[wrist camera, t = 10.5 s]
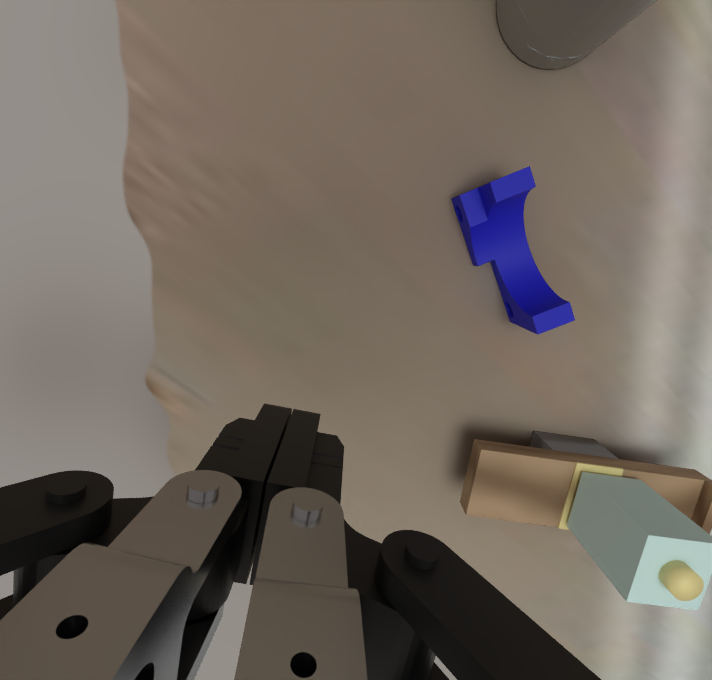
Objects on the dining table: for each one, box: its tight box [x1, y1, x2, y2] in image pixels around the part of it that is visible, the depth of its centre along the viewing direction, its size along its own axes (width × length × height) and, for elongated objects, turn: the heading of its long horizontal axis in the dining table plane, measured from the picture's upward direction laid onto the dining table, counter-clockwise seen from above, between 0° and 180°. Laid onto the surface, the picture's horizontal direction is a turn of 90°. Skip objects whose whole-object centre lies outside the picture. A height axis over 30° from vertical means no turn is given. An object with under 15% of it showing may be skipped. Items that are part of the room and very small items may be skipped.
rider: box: [567, 472, 712, 610], centre depth 32 cm, size 5×5×9 cm
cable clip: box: [451, 166, 575, 334], centre depth 36 cm, size 12×4×6 cm, turn 22°
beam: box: [460, 431, 712, 534], centre depth 39 cm, size 6×20×7 cm, turn 81°
